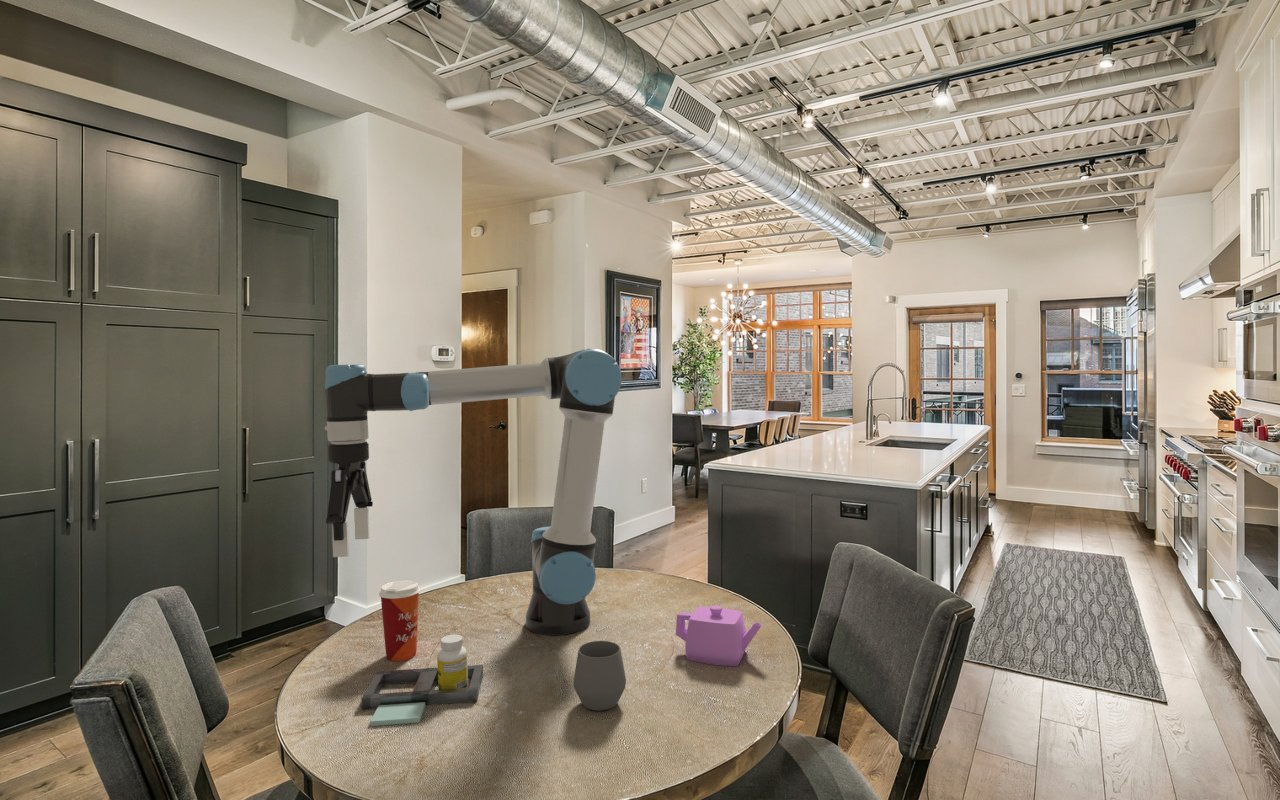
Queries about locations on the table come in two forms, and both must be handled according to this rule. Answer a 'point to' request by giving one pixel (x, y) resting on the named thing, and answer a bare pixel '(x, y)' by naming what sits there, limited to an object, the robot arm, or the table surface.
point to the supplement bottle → (452, 663)
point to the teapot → (715, 635)
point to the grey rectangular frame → (420, 688)
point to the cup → (599, 675)
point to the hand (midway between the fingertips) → (352, 547)
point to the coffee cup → (400, 618)
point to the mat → (398, 714)
